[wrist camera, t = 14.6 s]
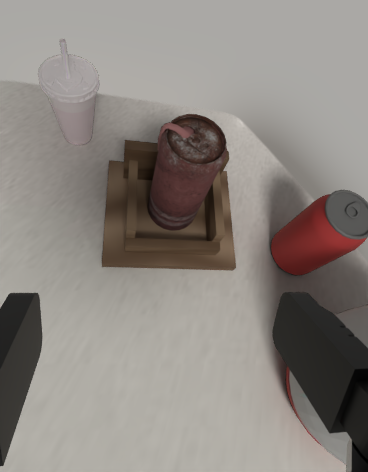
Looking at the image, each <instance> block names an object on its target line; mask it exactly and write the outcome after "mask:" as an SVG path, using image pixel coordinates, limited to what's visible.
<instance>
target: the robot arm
mask: <svg viewBox="0 0 368 472" xmlns="http://www.w3.org/2000/svg"><path fill="white" fill-rule="evenodd" d="M273 340H274V344H275V346H276V348H277V350H278V351H279V353H280V355H281V356H282V358H283V359H284V361H285V363H286V364H287V366H288V368H289V369H290V371H291V372H292V374H293V376H294V377H295V379H296V380H297V382H298V384H299V385H300V387H301V388H302V390H303V392H304V393H305V395H306V397H307V398H308V400H309V401H310V403H311V405H312V406H313V408H314V409H315V411H316V413H317V414H318V416H319V417H320V419H321V421H322V422H323V424H324V425H325V427H326V429H327V430H328V432H329V434H331V433H340V432H347V433H348V435H349V436H350V439H349V441H348V444H347V455H346V472H368V348H367V347H366V346H365V345H364V344H363V343H362V342H361V341H360V340H359V339H358V338H357V337H355V336H354V334H353V333H352V332H351V331H350V330H349V329H348V328H346V326H345V325H344V323H343V322H342V321H341V320H340V319H339V318H338V317H337V316H336V315H334V314H332V313H331V312H329V311H328V310H326V309H324V308H323V307H321V306H320V305H319V304H318V303H317V302H316V301H315V300H314V299H313V298H312V297H311V296H310V295H309V294H308V293H305V292H286V293H284V294H283V295H282V296H281V299H280V303H279V307H278V311H277V315H276V319H275V323H274V327H273ZM41 347H42V325H41V311H40V299H39V295H38V293H10V294H9V295H8V297H7V298H6V300H5V302H4V303H3V305H2V307H1V308H0V466H3V465H4V462H5V459H6V456H7V453H8V450H9V447H10V444H11V441H12V438H13V435H14V432H15V429H16V426H17V423H18V420H19V417H20V414H21V411H22V408H23V405H24V402H25V399H26V396H27V393H28V390H29V387H30V384H31V381H32V378H33V375H34V372H35V369H36V366H37V363H38V360H39V357H40V353H41Z"/></svg>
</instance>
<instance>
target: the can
mask: <svg viewBox="0 0 368 472" xmlns="http://www.w3.org/2000/svg"><path fill="white" fill-rule="evenodd" d="M226 153H227V148H226V139H225V135H224V133H223V132H222V130H221V128H220V127H219V126H218V125H217V124H216V123H215V122H214V121H212V120H210V119H208V118H206V117H204V116H200V115H197V114H186V115H182V116H179V117H177V118H175V119H174V120H172V121H171V123H170V122H169V123H166V124H164V125H163V126H162V127H161V131H160V134H159V138H158V155H157V160H156V166H155V171H154V176H153V181H152V186H151V191H150V196H149V201H148V213H149V215H150V217H151V219H152V220H153V221H154V222H155V223H156V225H158V226H160V227H161V228H163V229H167V230H171V231H174V230H181V229H184V228H186V227H187V226H189V225H190V224H191V223H192V221H193V220H194V218H195V216H196V214H197V212H198V210H199V208H200V206H201V204H202V202H203V201H204V199H205V197H206V195H207V193H208V191H209V189H210V187H211V185H212V183H213V181H214V179H215V177H216V176H217V174H218V172H219V170H220V168H221V166H222V164H223V162H224V160H225V158H226Z"/></svg>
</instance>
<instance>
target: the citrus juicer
mask: <svg viewBox="0 0 368 472" xmlns="http://www.w3.org/2000/svg"><path fill="white" fill-rule="evenodd" d="M336 316H337V317H338V318H339V319H340V320H341V321H342V322H343V323H344V325H345V326H346V328H348V329H349V330H350V331H351V332H352V333H353V334H354V336H355V337H357V338H358V339H359V340H360V341H361V342H362V343H363V344H364V345H365V346H366V347H367V348H368V305H365V306H361V307H357V308H353V309H349V310H347V311H344V312H341V313H338V314H336ZM286 385H287V392H288V396H289V399H290V403H291V405H292V407H293V409H294V411H295V414H296V415H297V417H298V419H299V420H300V422H301V423H302V425H303V426H304V428H305V429H306V430H307V432H308V433H309V434H310V435H311V436H312V437H313V438H314V439H315V440H316V441H317V442H318V443H319V444H320V445H322V446H323V447H324V448H325V449H326V450H327V451H328V452H329V453H331V454H332V455H333V456H335V457H336V458H337V459H339V460H340V461H341V462H343V463H344V464H346V455H347V444H348V441H349V439H350V436H349V435H348V433H347V432H340V433H331V434H329V432H328V430H327V429H326V427H325V425H324V424H323V422H322V421H321V419H320V417H319V416H318V414H317V413H316V411H315V409H314V408H313V406H312V405H311V403H310V401H309V400H308V398H307V397H306V395H305V393H304V392H303V390H302V388H301V387H300V385H299V384H298V382H297V380H296V379H295V377H294V376H293V374H292V372H291V371H290V369H289V368H288V366H287V370H286Z"/></svg>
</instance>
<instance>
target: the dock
mask: <svg viewBox="0 0 368 472" xmlns="http://www.w3.org/2000/svg"><path fill="white" fill-rule="evenodd" d="M157 155H158V143H149V142H139V141H130V140H125V153H124V162H120V161H109V172H108V186H107V200H106V214H105V228H104V242H103V256H102V267H134V268H169V269H203V270H234V269H235V268H236V263H235V253H234V243H233V232H232V222H231V212H230V201H229V191H228V180H227V171H223V170H224V168H225V166H226V164H227V162H228V160H229V153H228V151H227V153H226V158H225V160H224V162H223V164H222V166H221V168H220V170H219V172H218V174H217V176H216V177H215V179H214V181H213V183H212V185H211V187H210V189H209V191H208V193H207V195H206V197H205V199H204V201H203V202H202V204H201V206H200V208H199V210H198V212H197V214H196V216H195V218H194V220H193V221H192V223H191V224H190V225H189V226H187V227H186V228H184V229H181V230H174V231H171V230H167V229H163V228H161V227H160V226H158V225H156V223H155V222H154V221H153V220H152V219H151V217H150V215H149V213H148V201H149V196H150V191H151V186H152V181H153V176H154V171H155V166H156V160H157Z"/></svg>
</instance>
